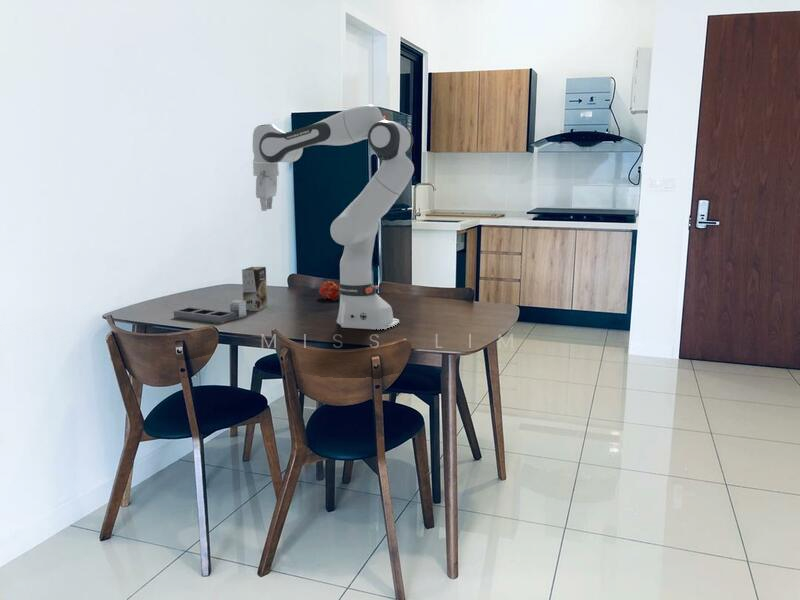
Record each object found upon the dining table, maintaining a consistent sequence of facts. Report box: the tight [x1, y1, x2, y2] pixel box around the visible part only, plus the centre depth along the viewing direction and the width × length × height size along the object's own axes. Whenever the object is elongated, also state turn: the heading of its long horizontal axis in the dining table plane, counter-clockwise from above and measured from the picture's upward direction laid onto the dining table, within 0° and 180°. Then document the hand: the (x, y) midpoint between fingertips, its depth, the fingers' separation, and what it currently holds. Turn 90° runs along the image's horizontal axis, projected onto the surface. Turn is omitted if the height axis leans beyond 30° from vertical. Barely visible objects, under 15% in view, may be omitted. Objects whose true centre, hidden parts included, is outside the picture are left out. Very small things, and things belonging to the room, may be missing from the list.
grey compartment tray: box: [173, 306, 237, 324], centre depth 233 cm, size 22×8×2 cm, turn 64°
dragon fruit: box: [317, 280, 340, 301], centre depth 268 cm, size 8×8×12 cm
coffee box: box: [241, 266, 268, 312], centre depth 249 cm, size 9×6×16 cm
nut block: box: [229, 299, 247, 318], centre depth 236 cm, size 4×4×6 cm
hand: (266, 209), depth 232 cm, fingers open, 8 cm apart
